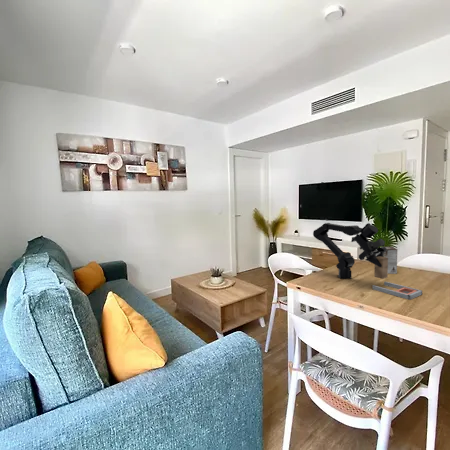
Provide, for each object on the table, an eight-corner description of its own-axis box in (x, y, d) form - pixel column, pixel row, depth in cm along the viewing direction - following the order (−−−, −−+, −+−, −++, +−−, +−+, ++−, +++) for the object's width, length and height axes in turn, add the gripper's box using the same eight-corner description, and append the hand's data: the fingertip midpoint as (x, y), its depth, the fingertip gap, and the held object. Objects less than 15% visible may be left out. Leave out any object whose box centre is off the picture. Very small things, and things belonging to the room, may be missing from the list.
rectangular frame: (394, 294, 127) (394, 291, 127) (404, 290, 132) (404, 287, 132) (408, 298, 122) (408, 294, 122) (417, 294, 126) (417, 290, 126)
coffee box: (380, 269, 170) (381, 246, 169) (391, 269, 169) (391, 246, 167) (386, 273, 161) (386, 249, 160) (397, 273, 160) (398, 249, 158)
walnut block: (374, 276, 138) (374, 257, 137) (379, 275, 140) (379, 256, 139) (382, 278, 134) (383, 258, 133) (387, 277, 136) (387, 257, 135)
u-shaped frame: (372, 289, 136) (372, 285, 136) (384, 284, 142) (385, 281, 141) (409, 299, 120) (409, 295, 120) (422, 294, 126) (422, 290, 126)
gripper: (364, 236, 134) (385, 260, 125) (383, 232, 143) (404, 254, 134) (350, 248, 142) (369, 271, 133) (370, 244, 150) (389, 266, 142)
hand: (383, 265), depth 135 cm, fingers closed on walnut block, 4 cm apart
